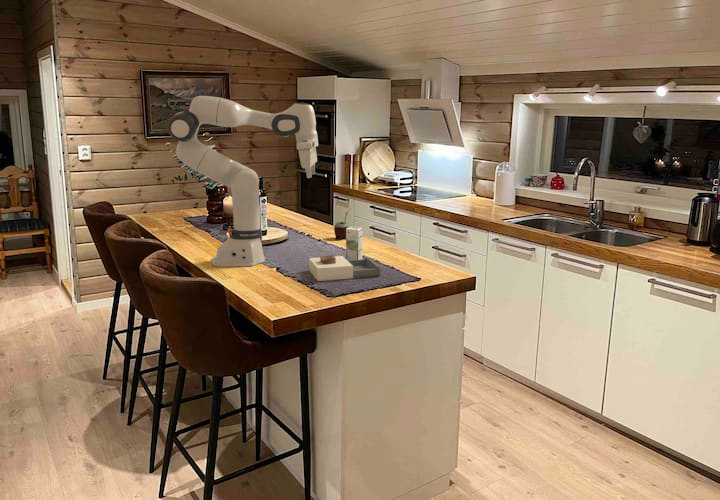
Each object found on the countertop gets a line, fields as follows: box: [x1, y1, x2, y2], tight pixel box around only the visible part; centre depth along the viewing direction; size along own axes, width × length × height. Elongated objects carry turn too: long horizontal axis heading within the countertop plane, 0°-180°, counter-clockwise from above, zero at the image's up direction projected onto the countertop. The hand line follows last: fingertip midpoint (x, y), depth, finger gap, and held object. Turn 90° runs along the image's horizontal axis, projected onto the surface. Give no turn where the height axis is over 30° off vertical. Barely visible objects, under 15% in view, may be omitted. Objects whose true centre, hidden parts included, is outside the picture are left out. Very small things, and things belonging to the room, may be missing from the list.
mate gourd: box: [333, 208, 351, 241], centre depth 300 cm, size 8×8×15 cm
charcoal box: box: [347, 256, 381, 279], centre depth 242 cm, size 11×16×4 cm, turn 17°
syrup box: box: [345, 226, 364, 260], centre depth 258 cm, size 6×6×14 cm
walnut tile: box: [320, 254, 336, 264], centre depth 237 cm, size 5×5×2 cm
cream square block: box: [308, 255, 354, 282], centre depth 239 cm, size 14×16×5 cm
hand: (311, 176), depth 251 cm, fingers open, 8 cm apart
